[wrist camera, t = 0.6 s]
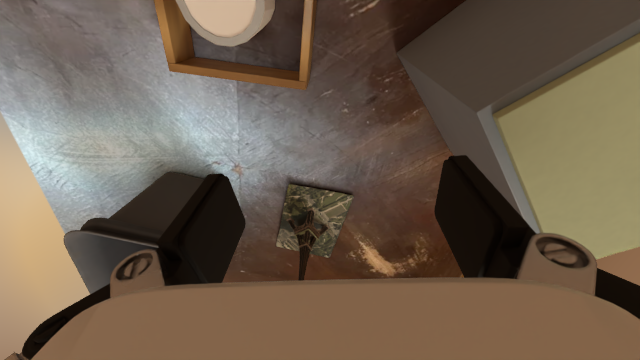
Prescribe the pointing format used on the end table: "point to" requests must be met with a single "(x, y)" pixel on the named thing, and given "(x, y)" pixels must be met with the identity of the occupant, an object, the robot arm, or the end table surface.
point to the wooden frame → (184, 61)
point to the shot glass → (227, 18)
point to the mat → (582, 151)
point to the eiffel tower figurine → (312, 222)
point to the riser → (506, 68)
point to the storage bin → (128, 228)
